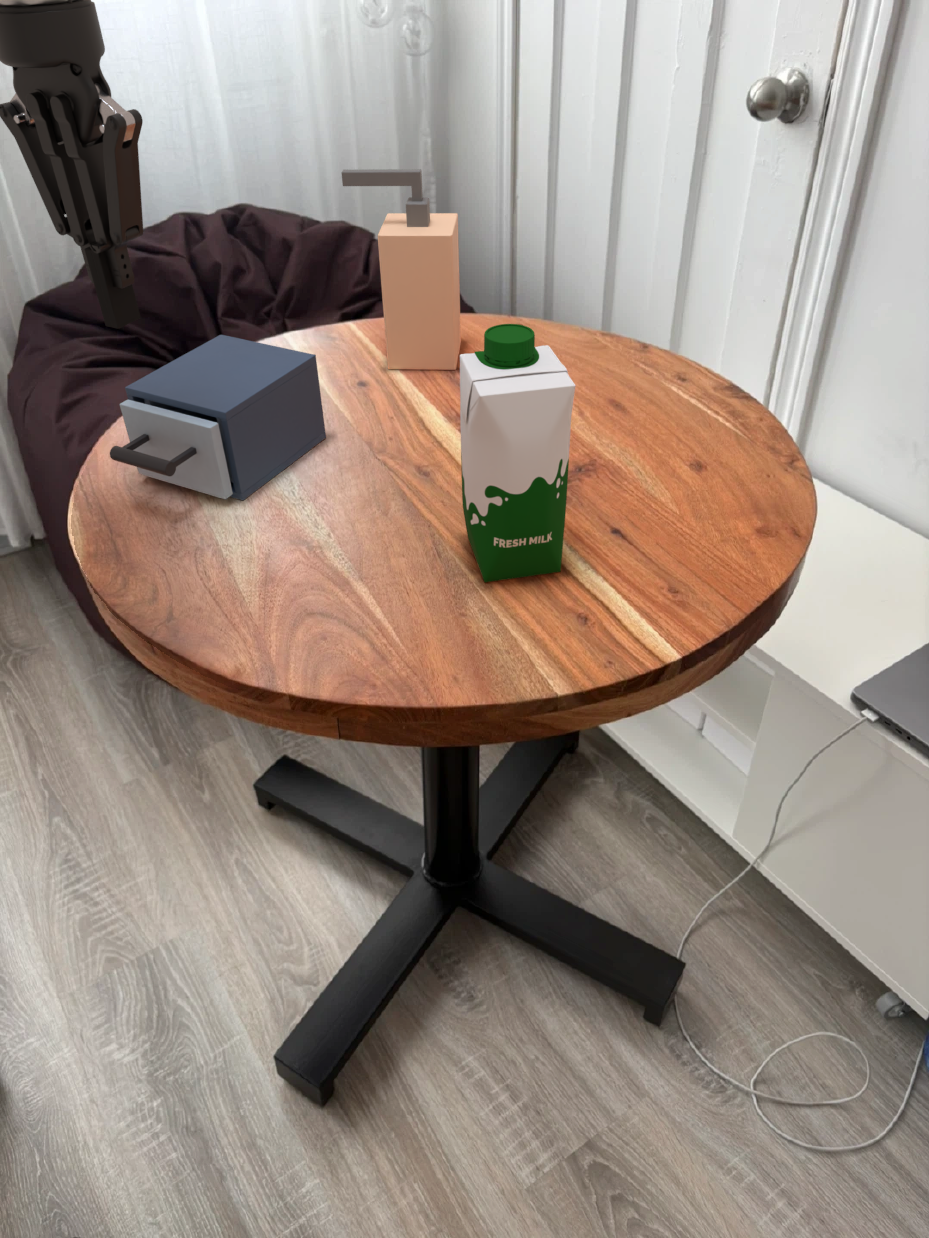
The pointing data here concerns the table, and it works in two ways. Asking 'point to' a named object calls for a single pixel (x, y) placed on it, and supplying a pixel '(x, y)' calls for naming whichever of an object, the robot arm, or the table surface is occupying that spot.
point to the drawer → (176, 447)
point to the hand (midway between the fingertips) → (123, 321)
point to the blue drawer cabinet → (246, 402)
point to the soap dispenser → (417, 276)
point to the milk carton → (515, 453)
